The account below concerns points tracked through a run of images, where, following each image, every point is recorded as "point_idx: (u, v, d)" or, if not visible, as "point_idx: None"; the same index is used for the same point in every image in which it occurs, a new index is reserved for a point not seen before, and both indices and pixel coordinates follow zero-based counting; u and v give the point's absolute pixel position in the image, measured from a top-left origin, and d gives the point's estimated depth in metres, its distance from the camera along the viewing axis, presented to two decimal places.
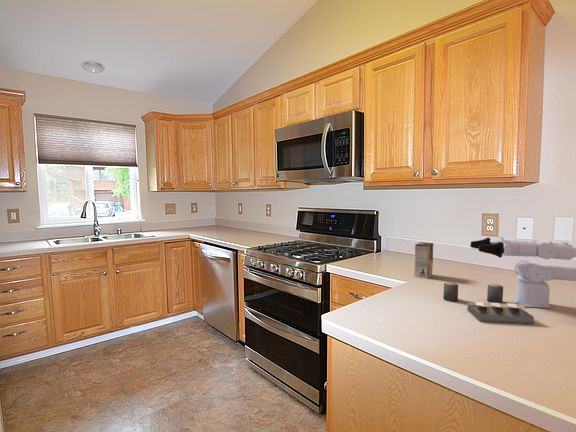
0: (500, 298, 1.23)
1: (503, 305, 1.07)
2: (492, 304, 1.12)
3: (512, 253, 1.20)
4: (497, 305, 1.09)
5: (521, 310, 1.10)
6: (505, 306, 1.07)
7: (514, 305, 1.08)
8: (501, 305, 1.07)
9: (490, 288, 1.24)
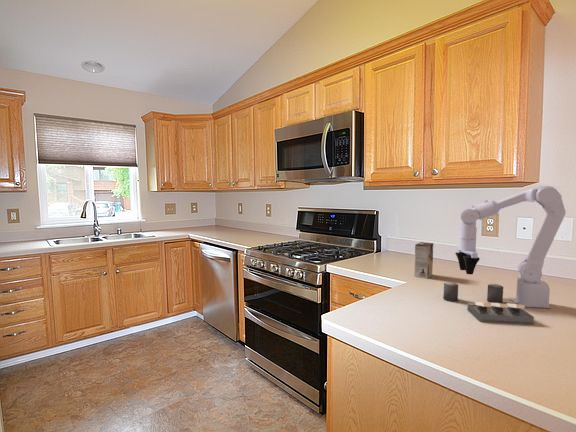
0: (500, 298, 1.23)
1: (503, 305, 1.07)
2: (492, 304, 1.12)
3: (474, 243, 1.29)
4: (497, 305, 1.09)
5: (521, 310, 1.10)
6: (505, 306, 1.07)
7: (514, 305, 1.08)
8: (501, 305, 1.07)
9: (490, 288, 1.24)
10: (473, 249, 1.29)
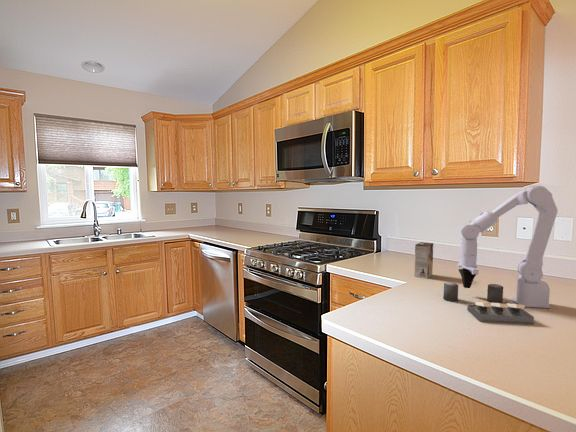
0: (500, 298, 1.23)
1: (503, 305, 1.07)
2: (492, 304, 1.12)
3: (475, 259, 1.28)
4: (497, 305, 1.09)
5: (521, 310, 1.10)
6: (505, 306, 1.07)
7: (514, 305, 1.08)
8: (501, 305, 1.07)
9: (490, 288, 1.24)
10: (474, 265, 1.28)
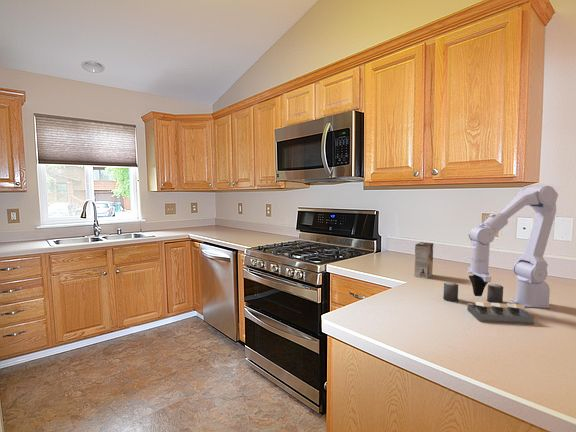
0: (500, 298, 1.23)
1: (503, 305, 1.07)
2: (492, 304, 1.12)
3: (487, 265, 1.18)
4: (497, 305, 1.09)
5: (521, 310, 1.10)
6: (505, 306, 1.07)
7: (514, 305, 1.08)
8: (501, 305, 1.07)
9: (490, 288, 1.24)
10: (486, 271, 1.18)
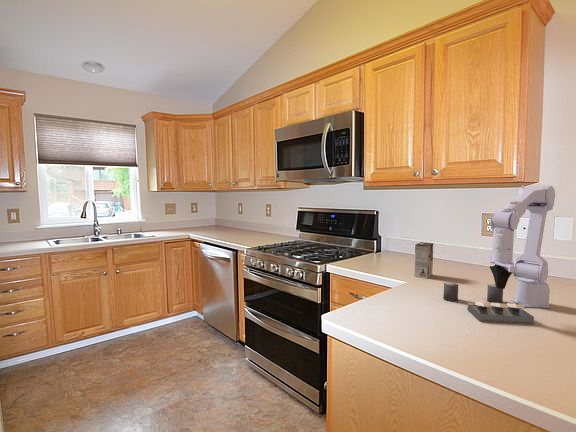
0: (500, 298, 1.23)
1: (503, 305, 1.07)
2: (492, 304, 1.12)
3: (511, 254, 1.06)
4: (497, 305, 1.09)
5: (521, 310, 1.10)
6: (505, 306, 1.07)
7: (514, 305, 1.08)
8: (501, 305, 1.07)
9: (490, 288, 1.24)
10: (510, 261, 1.06)
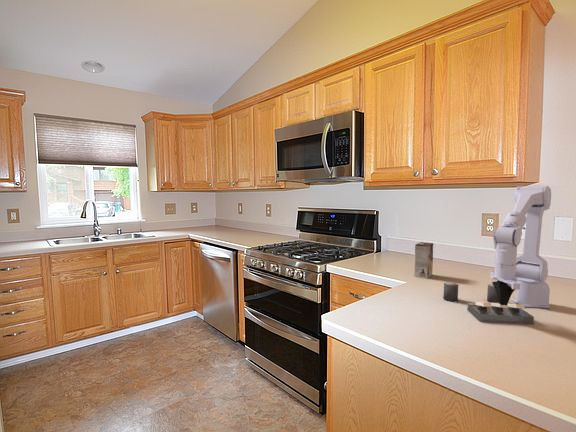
0: None
1: (503, 305, 1.07)
2: (492, 304, 1.12)
3: (514, 270, 1.04)
4: (497, 305, 1.09)
5: (521, 310, 1.10)
6: (505, 306, 1.07)
7: (514, 305, 1.08)
8: (501, 305, 1.07)
9: (490, 288, 1.24)
10: (513, 277, 1.04)
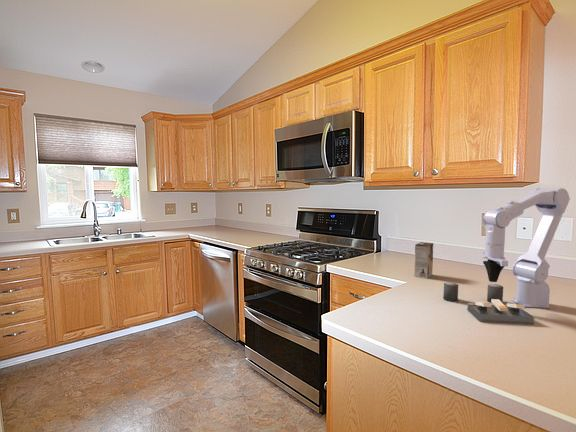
0: (500, 298, 1.23)
1: (503, 309, 1.07)
2: (492, 301, 1.12)
3: (502, 249, 1.14)
4: (497, 307, 1.09)
5: (521, 310, 1.10)
6: (505, 310, 1.07)
7: (514, 305, 1.08)
8: (501, 309, 1.07)
9: (490, 288, 1.24)
10: (501, 256, 1.14)
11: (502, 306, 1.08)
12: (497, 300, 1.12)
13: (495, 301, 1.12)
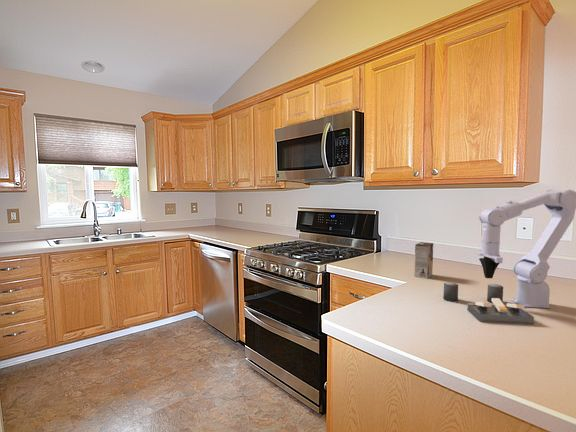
0: (500, 298, 1.23)
1: (503, 310, 1.07)
2: (492, 301, 1.12)
3: (497, 247, 1.19)
4: (497, 307, 1.09)
5: (521, 310, 1.10)
6: (504, 311, 1.08)
7: (514, 305, 1.08)
8: (501, 310, 1.08)
9: (490, 288, 1.24)
10: (497, 253, 1.19)
11: (502, 307, 1.08)
12: (498, 299, 1.12)
13: (495, 301, 1.11)
